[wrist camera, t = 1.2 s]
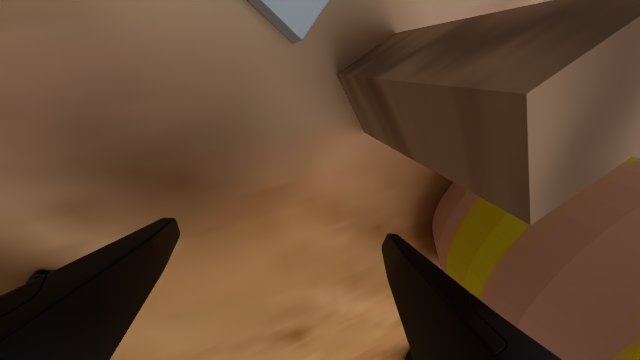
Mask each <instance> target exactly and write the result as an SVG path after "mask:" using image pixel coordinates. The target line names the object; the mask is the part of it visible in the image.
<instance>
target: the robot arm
mask: <svg viewBox="0 0 640 360" xmlns="http://www.w3.org/2000/svg"><path fill="white" fill-rule="evenodd" d="M179 236H180V231H179V228H178V224H177V221H176V219H175V218H166V217H165V218H162V219H160V220H158V221H156V222H154V223H152V224H150V225H147V226H145V227H143V228H141V229H139V230H137V231H135V232H133V233H131V234H129V235H127V236H125V237H123V238H121V239H119V240H117V241H114V242H112V243H110V244H108V245H106V246H104V247H102V248H100V249H98V250H96V251H94V252H92V253H90V254H88V255H86V256H83V257H81V258H79V259H77V260H75V261H73V262H71V263H69V264H67V265H65V266H63V267H61V268H59V269H57V270H55V271H52V272H49V271H45V270H38V271H36V272H35V273H34V274H33V275H32V276H31V277H30V278H29V280H28V281H27V283H26V284H25V285H23V286H20V287H18V288H16V289H14V290H12V291H10V292H8V293H6V294H3V295H1V296H0V360H110V358H111V357H112V355H113V353H114V352H115V350H116V348H117V347H118V345H119V343H120V342H121V340H122V339H123V337H124V335H125V334H126V332H127V330H128V329H129V327H130V325H131V324H132V322H133V320H134V319H135V317H136V315H137V314H138V312H139V311H140V309H141V307H142V306H143V304H144V302H145V301H146V299H147V297H148V296H149V294H150V292H151V291H152V289H153V287H154V286H155V284H156V282H157V281H158V279H159V278H160V276H161V274H162V272H163V271H164V269H165V267H166V265H167V263H168V261H169V259H170V256H171V254H172V252H173V250H174V248H175V245H176V243H177V241H178V239H179ZM382 254H383V259H384V264H385V269H386V274H387V278H388V282H389V285H390V288H391V291H392V294H393V297H394V300H395V303H396V306H397V309H398V312H399V315H400V319H401V322H402V325H403V328H404V331H405V334H406V337H407V340H408V343H409V346H410V349H411V352H412V355H413V358H414V360H562V359H561V358H559V357H558V356H556V355H555V354H553V353H552V352H551V351H549V350H548V349H546V348H545V347H544V346H542V345H541V344H539V343H538V342H537V341H535V340H534V339H532V338H531V337H530V336H528V335H527V334H525V333H524V332H523V331H521V330H520V329H518V328H517V327H516V326H514V325H513V324H511V323H510V322H509V321H507V320H506V319H505V318H503V317H502V316H500V315H499V314H498V313H496V312H495V311H494V310H492V309H491V308H490V307H489V306H487V305H486V304H485V303H483V302H482V301H481V300H480V299H478V298H477V297H476V296H475V295H473V294H472V293H470V292H469V291H468V290H466V289H465V288H464V287H463V286H461V285H460V284H459V283H458V282H456V281H455V280H454V279H453V278H451V277H450V276H449V275H448V274H446V273H445V272H444V271H443V270H441V269H440V268H439V267H438V266H436V265H435V264H434V263H433V262H431V261H430V260H429V259H427V258H426V257H425V256H424V255H422V254H421V253H420V252H419V251H417V250H416V249H415V248H414V247H412V246H411V245H410V244H409V243H407V242H406V241H405V240H404V239H402V238H401V237H400V236H399V235H397V234H387V236H386V238H385V240H384V242H383V244H382ZM40 276H41V277H40Z"/></svg>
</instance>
